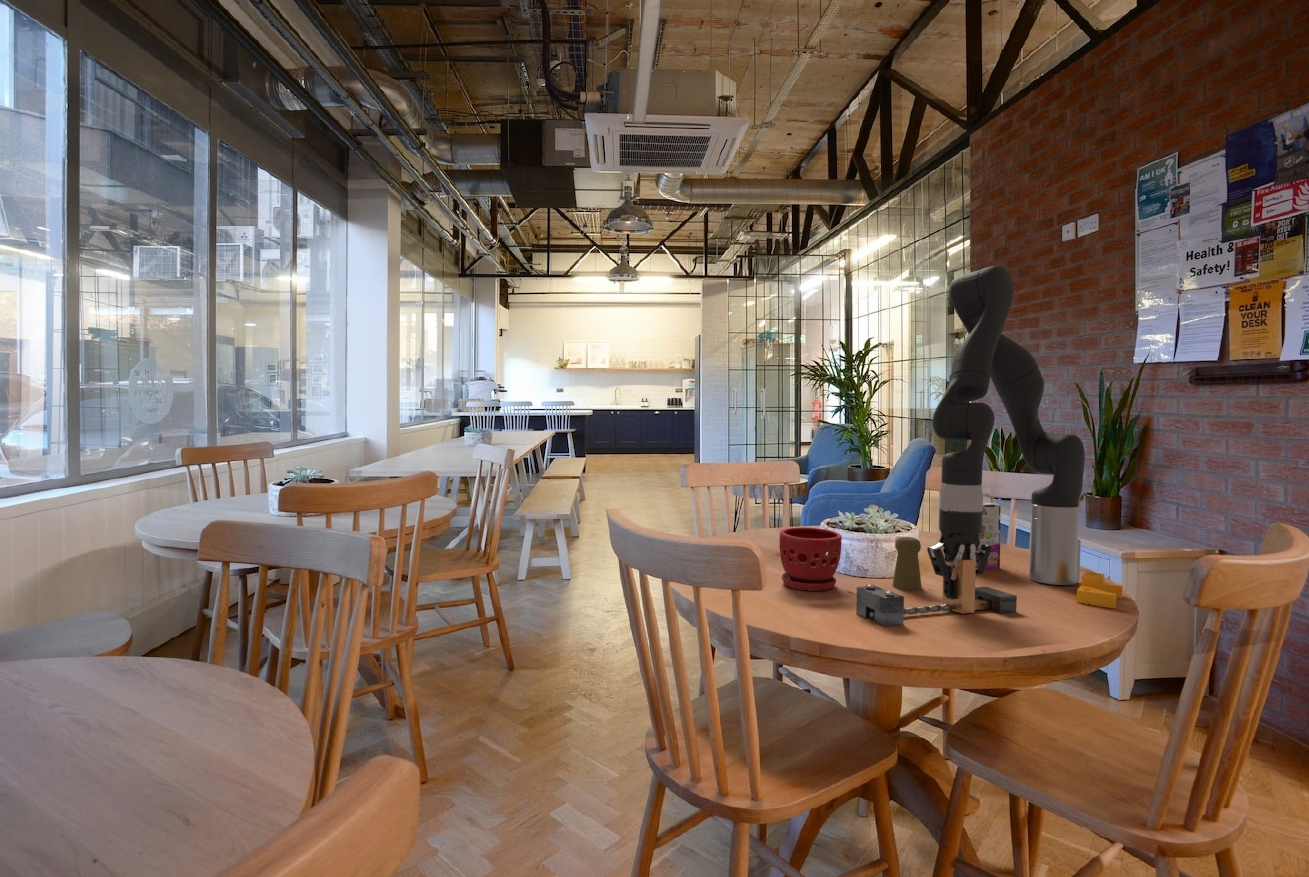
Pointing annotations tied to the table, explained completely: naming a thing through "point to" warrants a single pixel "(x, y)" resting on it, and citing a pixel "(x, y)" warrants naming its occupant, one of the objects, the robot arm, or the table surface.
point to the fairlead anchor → (880, 605)
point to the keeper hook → (997, 599)
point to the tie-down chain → (964, 594)
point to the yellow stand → (1098, 591)
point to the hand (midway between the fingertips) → (958, 597)
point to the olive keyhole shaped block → (907, 564)
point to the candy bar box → (991, 533)
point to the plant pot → (810, 557)
